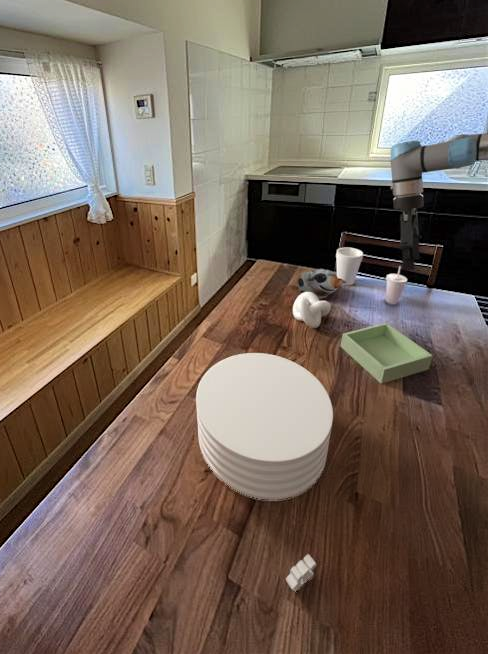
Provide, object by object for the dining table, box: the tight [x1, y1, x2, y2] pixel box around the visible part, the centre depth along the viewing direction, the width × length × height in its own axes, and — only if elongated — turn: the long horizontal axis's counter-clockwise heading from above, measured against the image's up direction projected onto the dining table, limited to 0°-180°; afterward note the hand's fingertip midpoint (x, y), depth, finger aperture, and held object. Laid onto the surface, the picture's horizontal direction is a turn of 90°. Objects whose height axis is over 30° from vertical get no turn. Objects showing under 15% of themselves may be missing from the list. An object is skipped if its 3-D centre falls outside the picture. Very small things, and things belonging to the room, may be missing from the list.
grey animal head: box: [296, 268, 346, 301], centre depth 125 cm, size 15×12×14 cm
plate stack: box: [195, 352, 334, 502], centre depth 74 cm, size 28×28×12 cm
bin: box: [340, 322, 434, 384], centre depth 95 cm, size 16×16×5 cm
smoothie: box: [385, 265, 408, 305], centre depth 118 cm, size 6×6×14 cm
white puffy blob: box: [292, 292, 332, 329], centre depth 111 cm, size 11×12×9 cm
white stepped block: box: [285, 553, 318, 593], centre depth 52 cm, size 5×1×4 cm, turn 120°
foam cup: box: [335, 246, 364, 286], centre depth 133 cm, size 10×9×13 cm
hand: (411, 264), depth 104 cm, fingers open, 13 cm apart
